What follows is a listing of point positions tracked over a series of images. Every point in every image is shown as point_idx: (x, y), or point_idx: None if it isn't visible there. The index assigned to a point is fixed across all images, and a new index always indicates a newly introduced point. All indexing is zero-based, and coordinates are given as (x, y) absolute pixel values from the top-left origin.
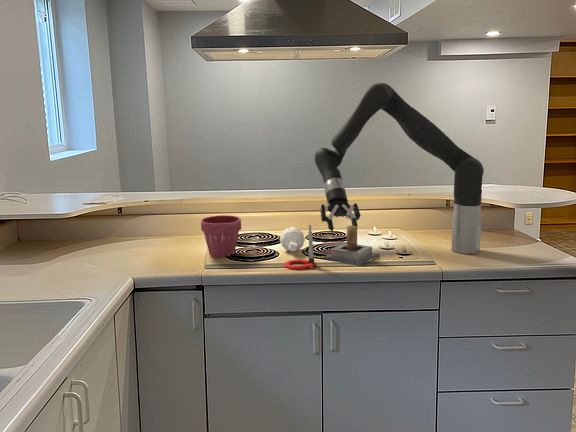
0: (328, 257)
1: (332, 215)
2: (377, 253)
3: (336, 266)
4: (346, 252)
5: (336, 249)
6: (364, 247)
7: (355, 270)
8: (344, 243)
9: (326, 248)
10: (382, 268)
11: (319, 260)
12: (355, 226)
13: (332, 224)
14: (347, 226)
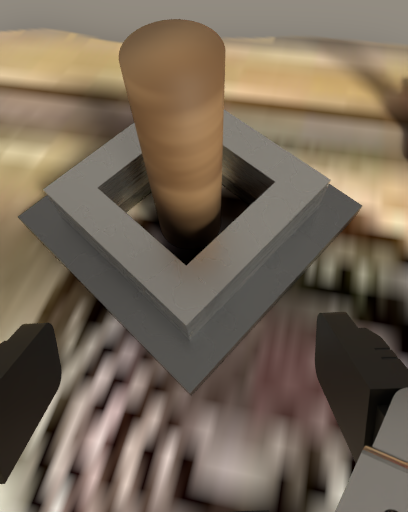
0: (336, 189)
1: (383, 451)
2: (29, 213)
3: (303, 108)
4: (242, 126)
5: (296, 166)
6: (101, 181)
7: (231, 58)
8: (204, 300)
9: (315, 486)
10: (110, 65)
11: (384, 201)
12: (135, 55)
13: (343, 335)
14: (215, 65)
